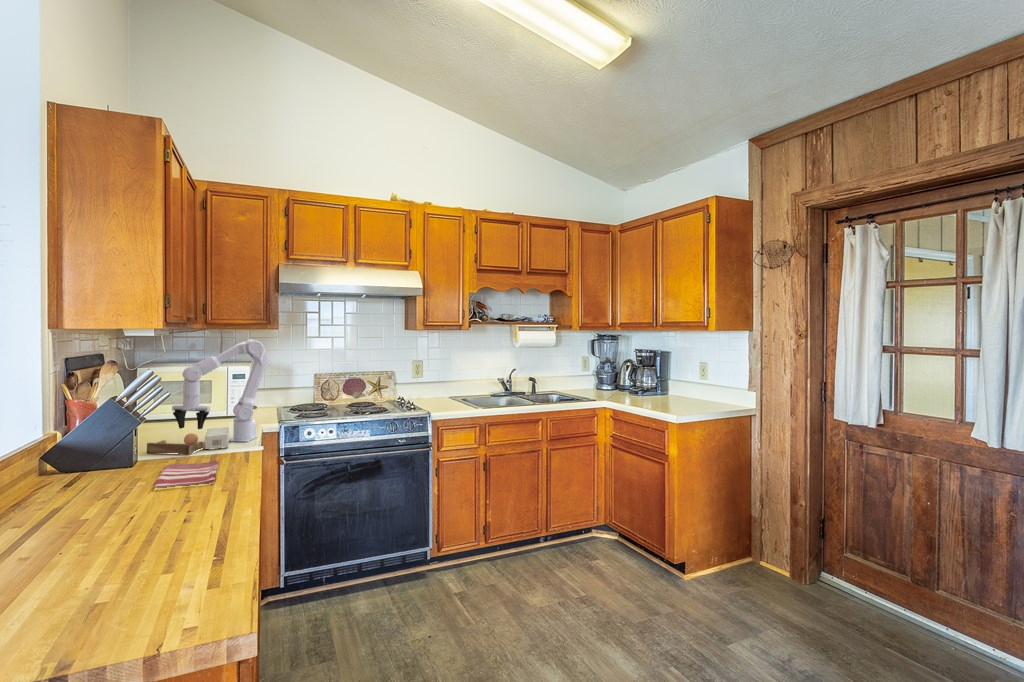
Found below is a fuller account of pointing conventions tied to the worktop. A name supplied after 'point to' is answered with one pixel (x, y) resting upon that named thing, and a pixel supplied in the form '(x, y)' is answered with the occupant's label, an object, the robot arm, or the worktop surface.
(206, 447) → the skincare box
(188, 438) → the ball
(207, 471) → the dish towel
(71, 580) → the worktop surface
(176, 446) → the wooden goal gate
